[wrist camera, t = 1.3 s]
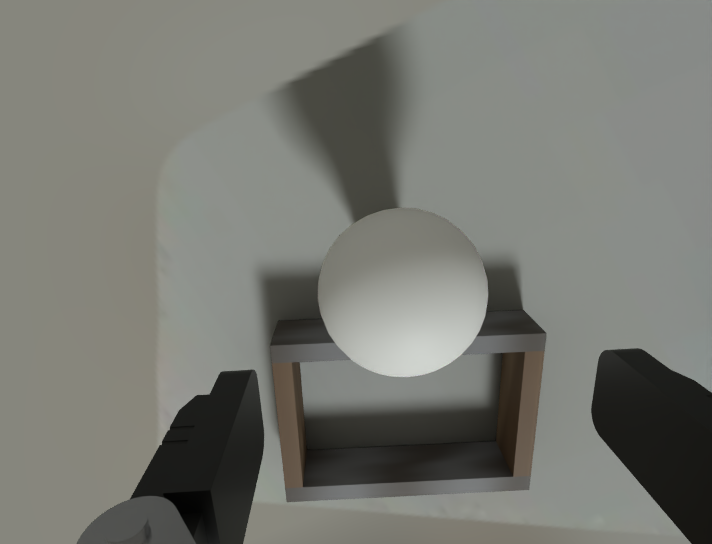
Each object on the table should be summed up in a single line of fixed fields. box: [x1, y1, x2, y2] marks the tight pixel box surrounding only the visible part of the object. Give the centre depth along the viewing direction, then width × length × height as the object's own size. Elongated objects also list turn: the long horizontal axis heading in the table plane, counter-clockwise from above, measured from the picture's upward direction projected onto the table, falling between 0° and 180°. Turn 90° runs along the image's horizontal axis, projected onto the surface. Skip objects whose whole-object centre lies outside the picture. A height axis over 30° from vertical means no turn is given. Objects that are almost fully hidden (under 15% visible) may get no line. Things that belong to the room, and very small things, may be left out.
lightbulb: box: [318, 208, 488, 377], centre depth 19 cm, size 6×6×11 cm
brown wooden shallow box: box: [270, 310, 546, 502], centre depth 25 cm, size 14×10×3 cm
